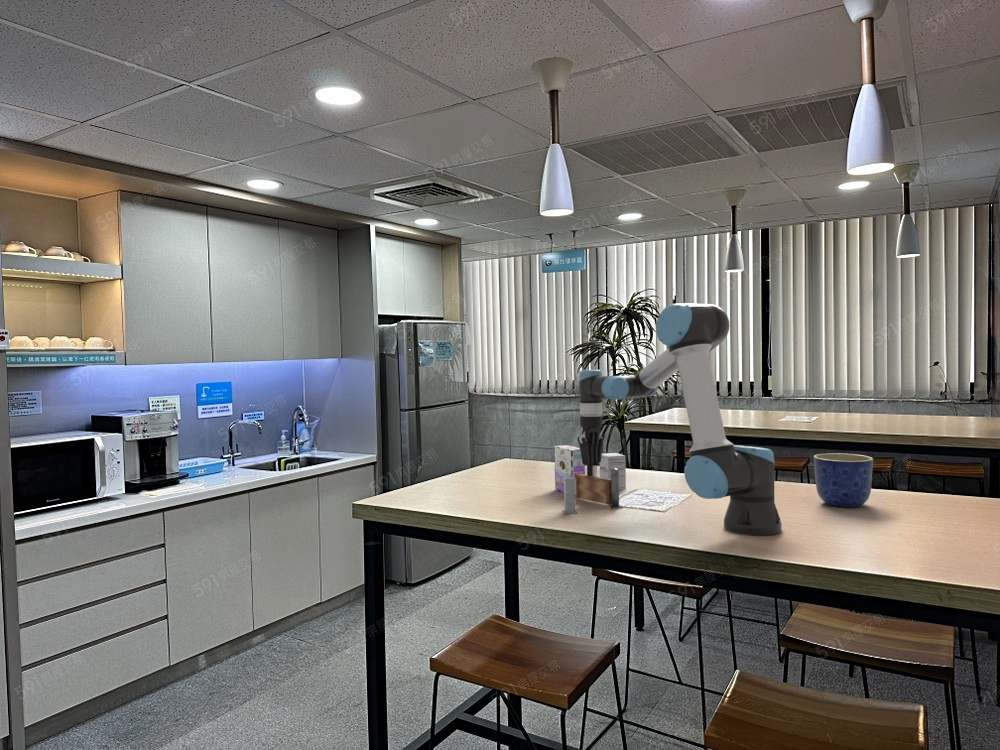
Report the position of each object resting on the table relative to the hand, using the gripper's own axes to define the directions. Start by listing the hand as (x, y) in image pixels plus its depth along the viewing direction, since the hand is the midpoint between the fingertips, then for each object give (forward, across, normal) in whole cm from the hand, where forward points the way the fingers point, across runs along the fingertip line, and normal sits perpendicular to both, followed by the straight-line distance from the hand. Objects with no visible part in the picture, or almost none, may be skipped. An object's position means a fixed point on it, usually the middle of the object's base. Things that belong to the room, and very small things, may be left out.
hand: (592, 484), depth 230 cm
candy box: (+6, -6, -14) cm, 17 cm away
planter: (+6, -44, +66) cm, 80 cm away
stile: (+5, +18, +4) cm, 19 cm away
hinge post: (+5, +4, +12) cm, 13 cm away
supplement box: (+6, -22, -6) cm, 23 cm away
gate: (+5, +2, +2) cm, 6 cm away
